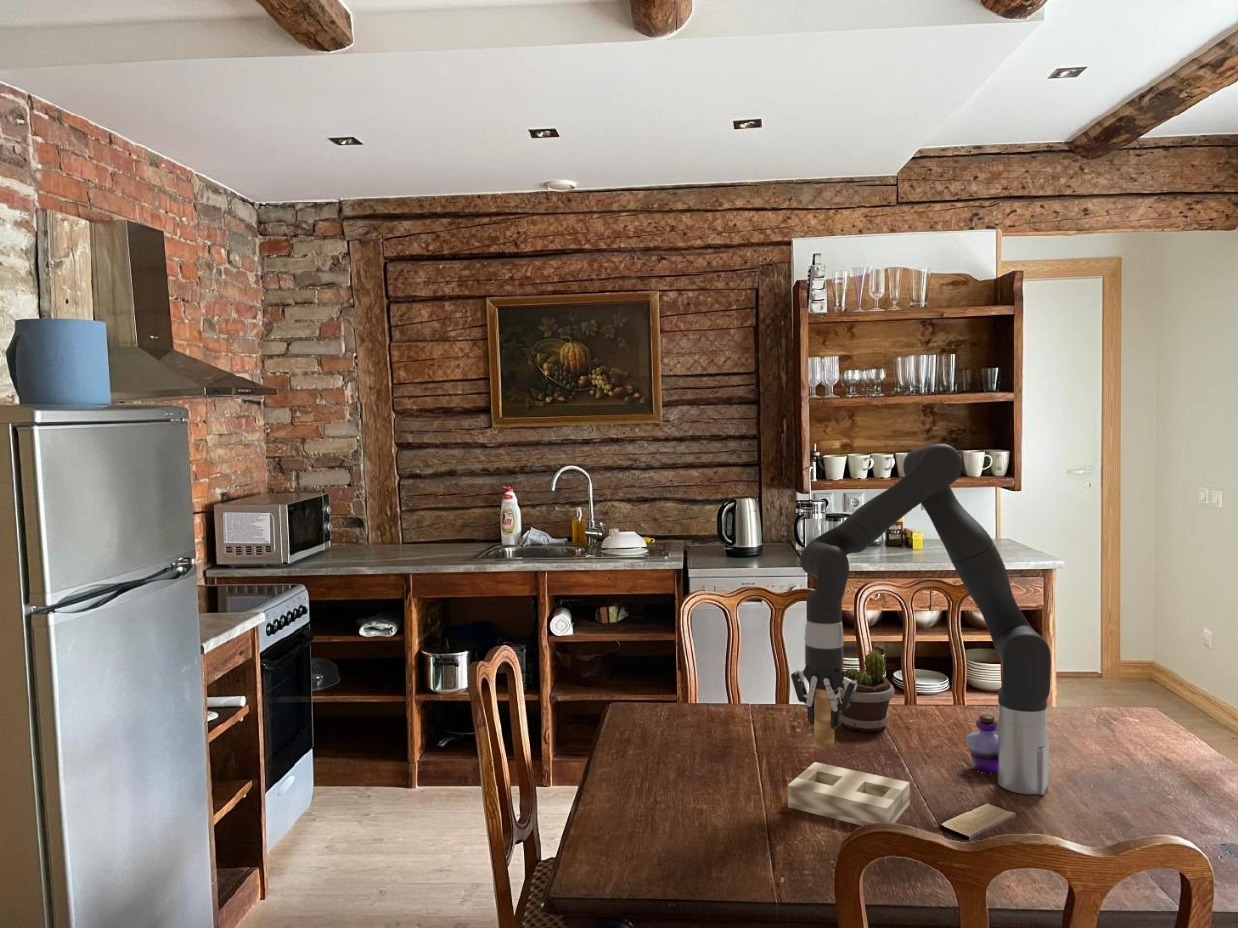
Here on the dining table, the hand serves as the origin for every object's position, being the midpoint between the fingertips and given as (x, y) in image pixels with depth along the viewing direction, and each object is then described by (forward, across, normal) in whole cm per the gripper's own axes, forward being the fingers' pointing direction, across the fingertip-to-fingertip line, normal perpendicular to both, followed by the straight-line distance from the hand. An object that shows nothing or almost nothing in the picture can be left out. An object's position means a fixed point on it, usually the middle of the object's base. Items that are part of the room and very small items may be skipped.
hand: (824, 725), depth 182 cm
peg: (+4, 0, 0) cm, 4 cm away
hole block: (+15, -5, 0) cm, 16 cm away
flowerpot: (+16, +8, -46) cm, 49 cm away
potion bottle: (+15, -24, -33) cm, 44 cm away
